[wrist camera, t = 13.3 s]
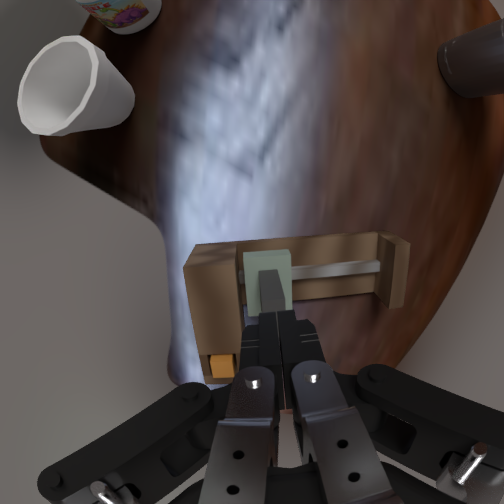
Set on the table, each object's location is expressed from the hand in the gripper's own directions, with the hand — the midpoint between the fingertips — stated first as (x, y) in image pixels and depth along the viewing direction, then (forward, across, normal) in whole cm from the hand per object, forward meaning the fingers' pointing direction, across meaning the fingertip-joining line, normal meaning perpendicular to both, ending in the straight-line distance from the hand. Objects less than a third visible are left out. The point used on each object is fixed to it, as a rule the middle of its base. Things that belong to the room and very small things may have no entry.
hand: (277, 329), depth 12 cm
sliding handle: (+22, 0, +7) cm, 23 cm away
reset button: (+19, +6, +14) cm, 25 cm away
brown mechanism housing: (+24, -3, +10) cm, 26 cm away
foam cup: (+24, +17, -17) cm, 33 cm away
